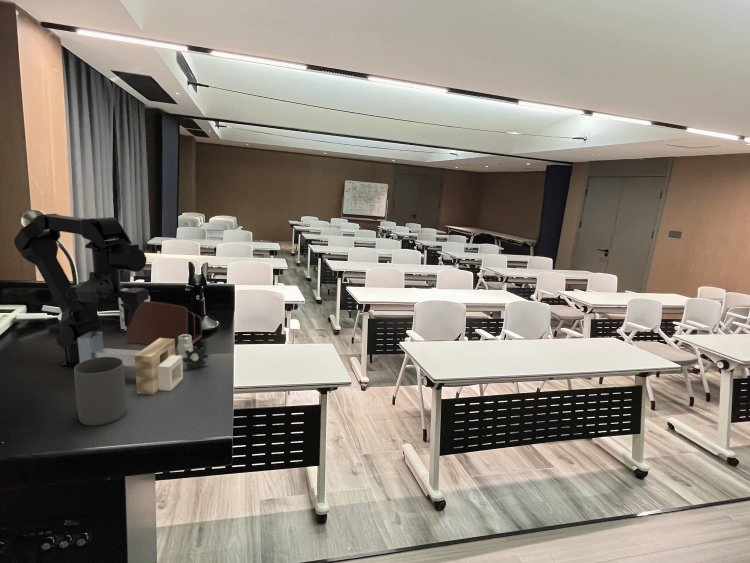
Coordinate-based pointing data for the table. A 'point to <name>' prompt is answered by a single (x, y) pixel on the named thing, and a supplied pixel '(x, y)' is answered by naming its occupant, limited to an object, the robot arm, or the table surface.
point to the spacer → (170, 372)
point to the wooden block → (152, 364)
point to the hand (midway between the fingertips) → (110, 324)
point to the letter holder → (162, 323)
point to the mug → (100, 390)
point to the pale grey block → (102, 349)
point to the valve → (190, 351)
